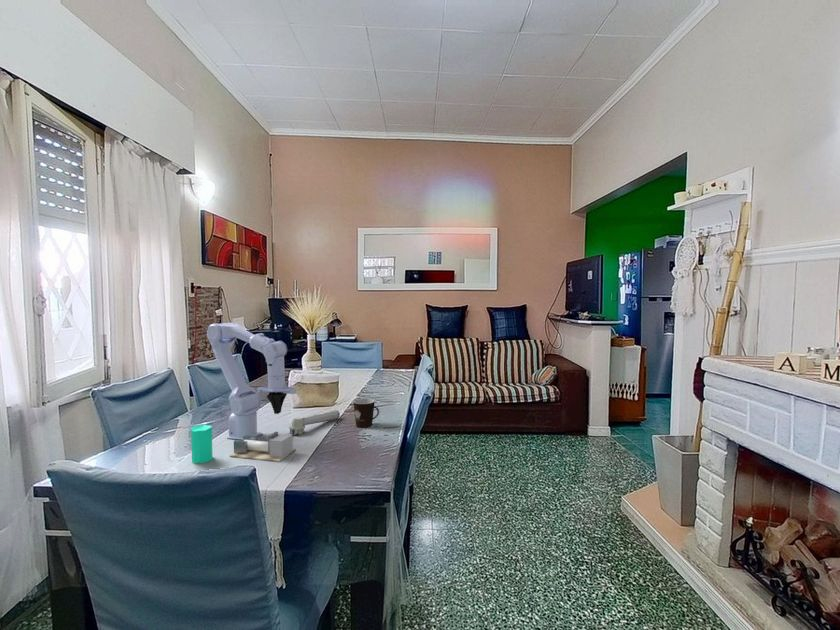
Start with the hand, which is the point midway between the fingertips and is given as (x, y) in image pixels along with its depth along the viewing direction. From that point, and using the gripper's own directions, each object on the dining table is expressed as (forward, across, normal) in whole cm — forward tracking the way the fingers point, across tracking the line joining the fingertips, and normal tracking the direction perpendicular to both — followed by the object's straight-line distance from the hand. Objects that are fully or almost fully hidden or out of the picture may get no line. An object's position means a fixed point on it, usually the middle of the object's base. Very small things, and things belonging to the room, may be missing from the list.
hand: (277, 413), depth 146 cm
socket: (+11, +8, -11) cm, 17 cm away
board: (+10, +1, -11) cm, 15 cm away
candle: (+10, -15, -20) cm, 27 cm away
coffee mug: (+11, +24, +23) cm, 35 cm away
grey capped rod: (+11, +4, +19) cm, 22 cm away
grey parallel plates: (+10, -6, -11) cm, 16 cm away
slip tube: (+10, +1, -11) cm, 15 cm away
